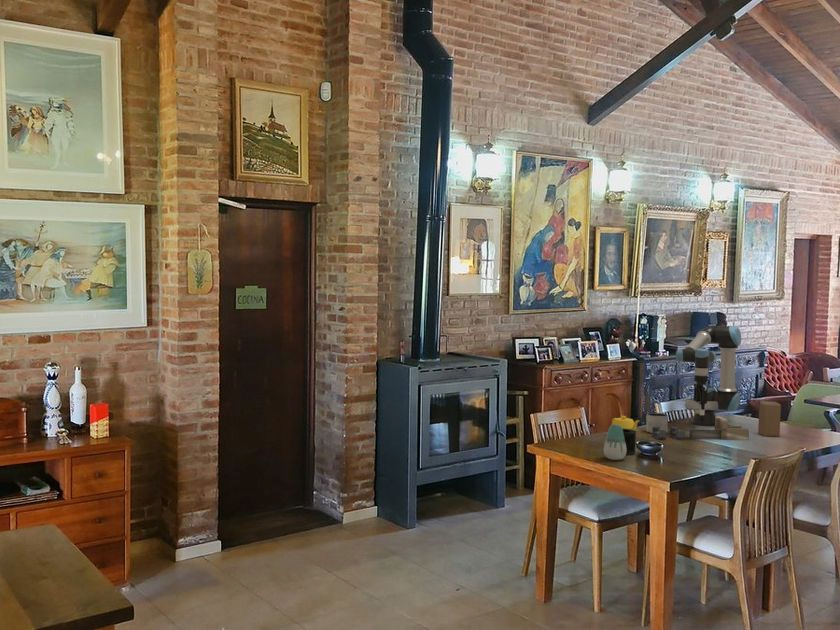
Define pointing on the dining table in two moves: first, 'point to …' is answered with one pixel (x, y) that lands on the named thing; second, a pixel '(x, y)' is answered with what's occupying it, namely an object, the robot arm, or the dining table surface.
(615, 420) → the teapot
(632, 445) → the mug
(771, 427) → the wooden block
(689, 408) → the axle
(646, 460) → the dining table surface
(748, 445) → the dining table surface
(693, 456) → the dining table surface
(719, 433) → the beam
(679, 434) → the v block
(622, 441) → the vase
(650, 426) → the planter
